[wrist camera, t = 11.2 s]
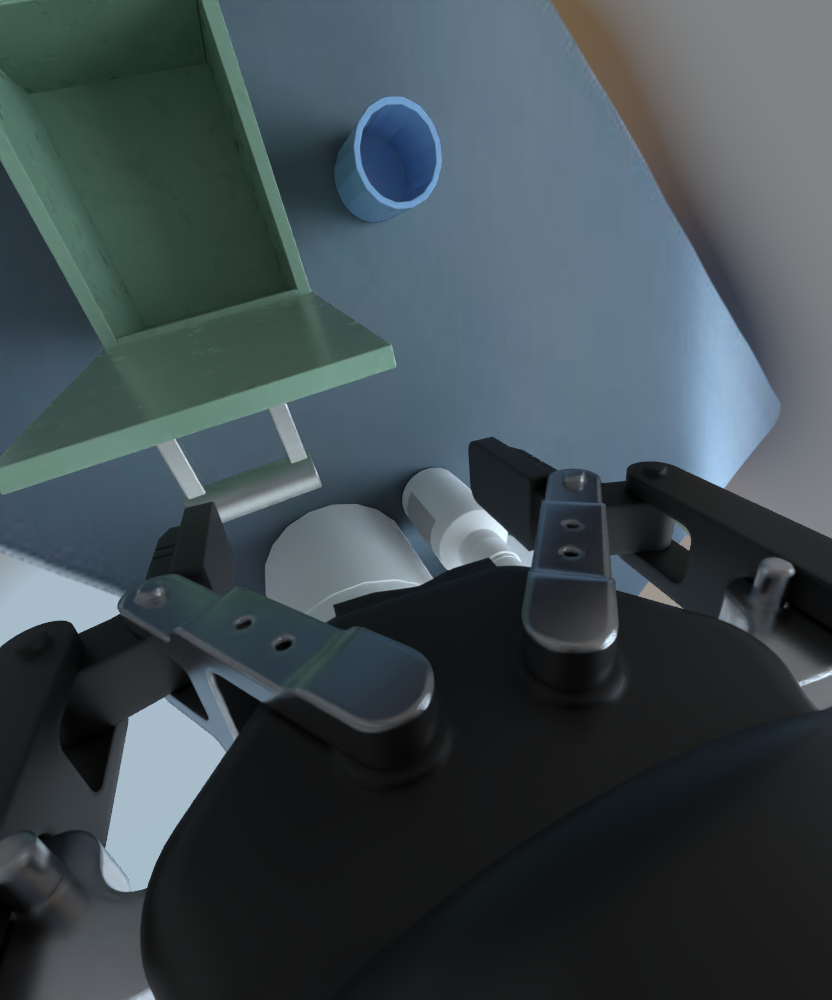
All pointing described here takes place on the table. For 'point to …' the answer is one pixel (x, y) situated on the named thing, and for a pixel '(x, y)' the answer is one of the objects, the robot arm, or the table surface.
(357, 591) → the canister
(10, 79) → the green box
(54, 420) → the lid
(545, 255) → the table surface
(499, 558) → the spray bottle
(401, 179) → the cup
